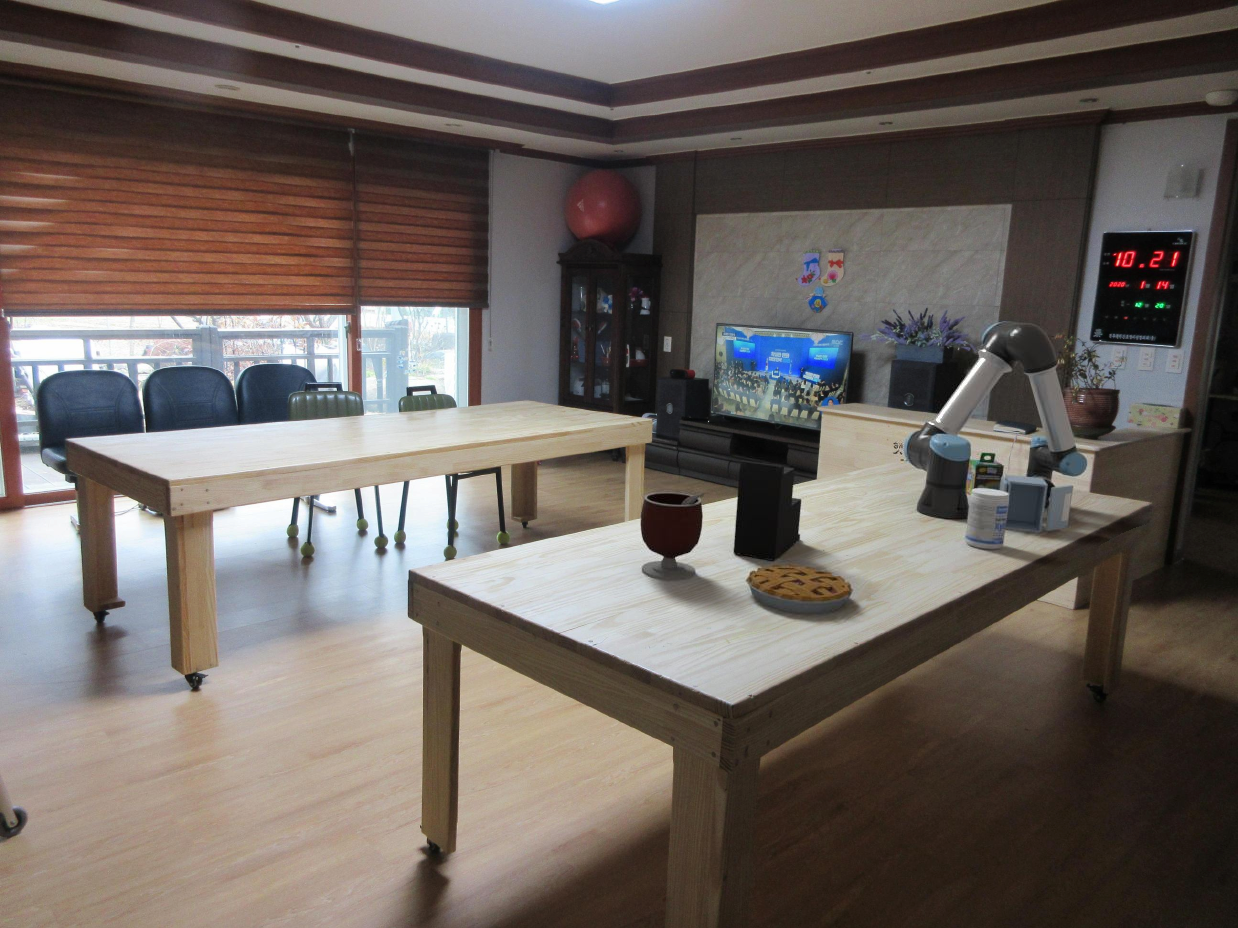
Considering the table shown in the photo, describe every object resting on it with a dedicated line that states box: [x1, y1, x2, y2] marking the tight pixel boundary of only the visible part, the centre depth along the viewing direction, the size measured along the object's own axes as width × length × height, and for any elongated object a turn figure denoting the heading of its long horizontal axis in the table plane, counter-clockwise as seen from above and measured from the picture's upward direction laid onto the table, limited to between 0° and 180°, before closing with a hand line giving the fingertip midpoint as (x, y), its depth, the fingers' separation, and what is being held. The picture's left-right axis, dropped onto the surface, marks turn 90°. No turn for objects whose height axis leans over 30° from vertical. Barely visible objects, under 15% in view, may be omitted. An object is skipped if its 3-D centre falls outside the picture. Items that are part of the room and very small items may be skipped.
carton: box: [1000, 474, 1048, 534], centre depth 257 cm, size 11×10×14 cm
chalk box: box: [966, 452, 1005, 496], centre depth 297 cm, size 9×9×15 cm
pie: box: [745, 564, 854, 615], centre depth 188 cm, size 22×22×5 cm
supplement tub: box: [964, 488, 1009, 550], centre depth 235 cm, size 10×10×15 cm
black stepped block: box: [733, 460, 802, 561], centre depth 223 cm, size 23×11×24 cm, turn 153°
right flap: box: [1045, 484, 1074, 532], centre depth 253 cm, size 10×1×12 cm, turn 123°
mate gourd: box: [640, 491, 705, 581], centre depth 200 cm, size 16×14×20 cm
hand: (1054, 506), depth 257 cm, fingers closed
